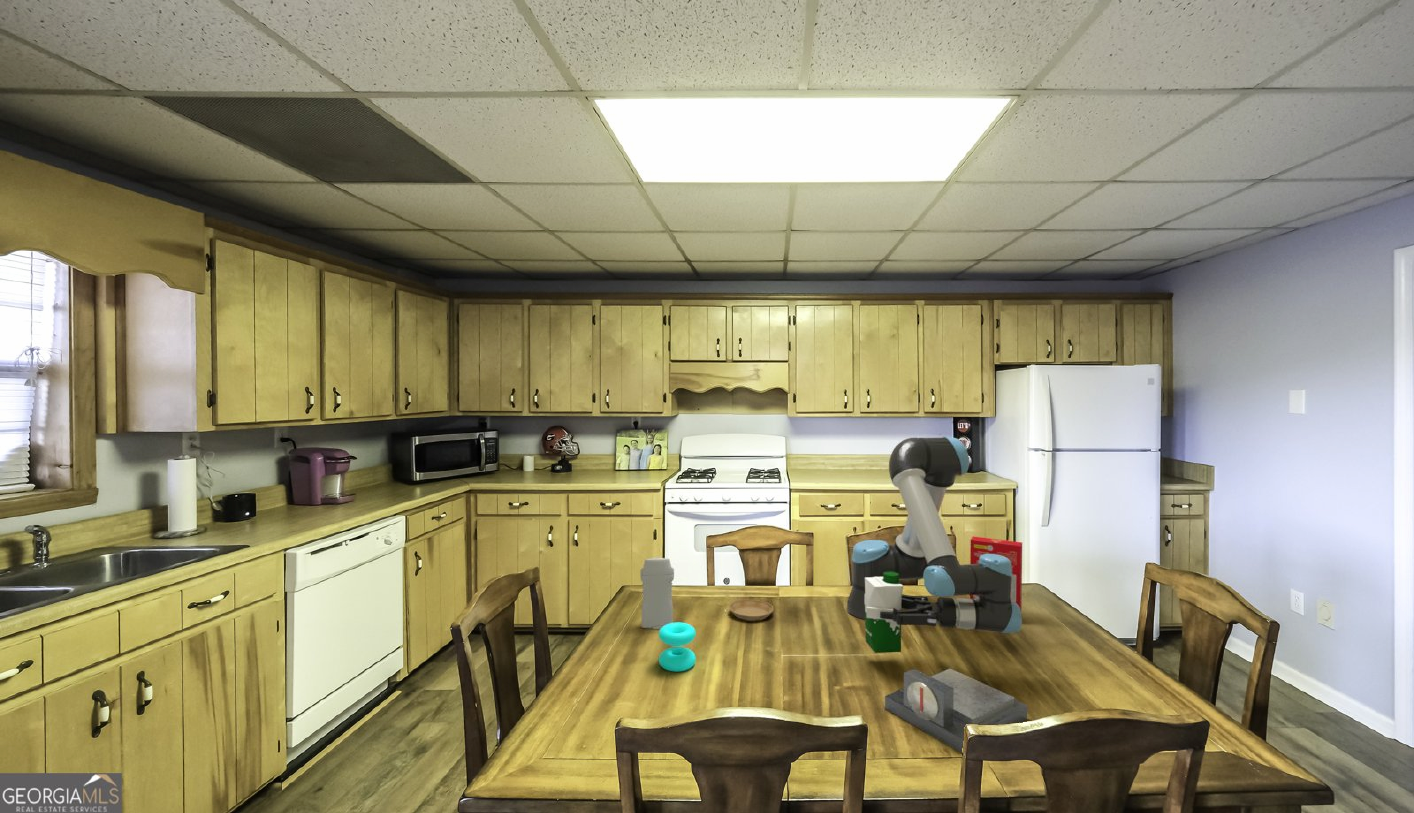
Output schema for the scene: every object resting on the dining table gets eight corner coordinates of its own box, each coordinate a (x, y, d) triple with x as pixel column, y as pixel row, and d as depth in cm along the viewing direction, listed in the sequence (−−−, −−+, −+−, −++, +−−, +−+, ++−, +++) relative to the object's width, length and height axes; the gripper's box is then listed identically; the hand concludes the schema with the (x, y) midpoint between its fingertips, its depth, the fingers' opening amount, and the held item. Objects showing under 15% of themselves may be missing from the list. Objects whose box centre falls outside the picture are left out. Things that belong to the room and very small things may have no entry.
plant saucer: (748, 603, 198) (748, 596, 198) (782, 615, 187) (782, 607, 187) (719, 614, 187) (719, 607, 187) (753, 627, 177) (753, 619, 177)
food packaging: (1021, 618, 184) (1022, 542, 184) (1020, 623, 180) (1021, 546, 179) (972, 609, 192) (972, 536, 191) (969, 614, 188) (970, 539, 187)
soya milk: (905, 653, 148) (906, 578, 148) (872, 654, 148) (873, 579, 147) (892, 639, 157) (892, 568, 157) (860, 640, 156) (861, 569, 156)
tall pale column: (673, 623, 180) (673, 555, 179) (674, 628, 176) (674, 558, 175) (640, 624, 179) (640, 556, 179) (640, 630, 175) (640, 559, 174)
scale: (883, 709, 131) (883, 664, 130) (947, 680, 144) (948, 639, 144) (963, 755, 114) (963, 704, 114) (1027, 718, 127) (1027, 672, 127)
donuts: (652, 632, 149) (667, 618, 159) (652, 670, 150) (667, 653, 159) (687, 638, 146) (700, 623, 155) (687, 676, 146) (700, 659, 156)
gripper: (963, 645, 138) (868, 636, 143) (946, 611, 159) (863, 604, 164) (964, 615, 138) (868, 607, 142) (946, 584, 158) (863, 578, 163)
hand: (865, 605), depth 153 cm, fingers closed on soya milk, 9 cm apart
